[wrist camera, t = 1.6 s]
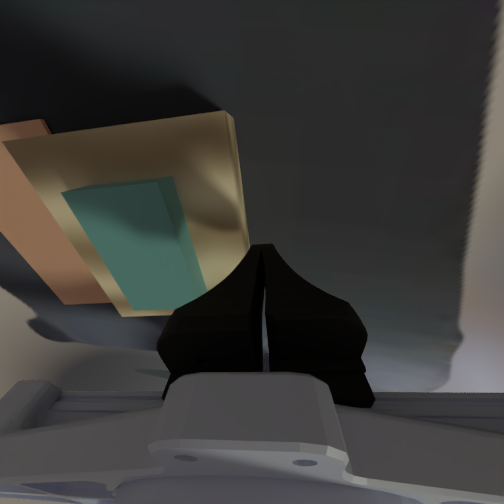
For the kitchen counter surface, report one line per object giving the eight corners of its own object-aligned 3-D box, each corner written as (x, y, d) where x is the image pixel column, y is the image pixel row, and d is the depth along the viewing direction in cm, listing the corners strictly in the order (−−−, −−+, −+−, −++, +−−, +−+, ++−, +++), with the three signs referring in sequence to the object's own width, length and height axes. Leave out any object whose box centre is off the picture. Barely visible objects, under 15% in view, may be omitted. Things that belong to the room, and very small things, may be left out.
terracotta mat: (143, 299, 24) (142, 301, 23) (66, 303, 25) (64, 304, 24) (43, 119, 14) (39, 119, 14) (-77, 137, 15) (-83, 137, 15)
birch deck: (254, 284, 22) (253, 311, 18) (142, 290, 23) (121, 316, 19) (233, 118, 13) (224, 110, 10) (62, 141, 15) (1, 141, 11)
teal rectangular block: (207, 291, 17) (201, 307, 15) (146, 294, 18) (133, 310, 16) (172, 176, 12) (157, 182, 10) (87, 185, 12) (60, 192, 11)
